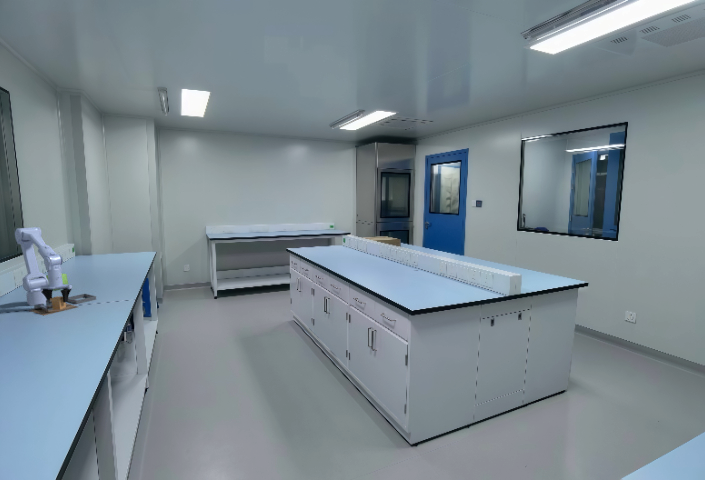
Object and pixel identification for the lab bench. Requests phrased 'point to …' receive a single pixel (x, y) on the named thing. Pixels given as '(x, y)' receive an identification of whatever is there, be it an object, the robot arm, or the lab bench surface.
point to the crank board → (46, 312)
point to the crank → (44, 306)
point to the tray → (86, 296)
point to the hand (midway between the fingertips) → (58, 302)
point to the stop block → (58, 302)
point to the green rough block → (64, 280)
